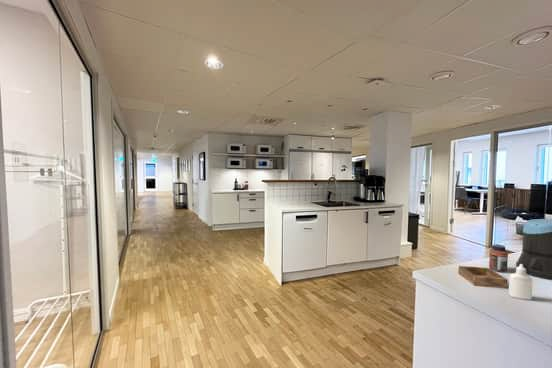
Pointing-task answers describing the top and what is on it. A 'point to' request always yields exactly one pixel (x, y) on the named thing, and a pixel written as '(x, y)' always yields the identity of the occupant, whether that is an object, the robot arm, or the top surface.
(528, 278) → the eye dropper bottle
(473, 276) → the holder
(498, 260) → the supplement bottle
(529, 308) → the top surface
